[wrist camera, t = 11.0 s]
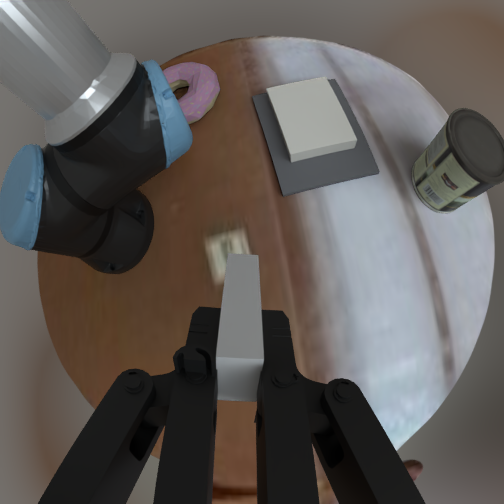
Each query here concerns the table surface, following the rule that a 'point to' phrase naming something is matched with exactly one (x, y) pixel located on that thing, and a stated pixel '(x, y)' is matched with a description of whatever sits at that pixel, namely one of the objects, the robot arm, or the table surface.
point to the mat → (320, 167)
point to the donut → (194, 88)
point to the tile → (310, 119)
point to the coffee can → (459, 162)
